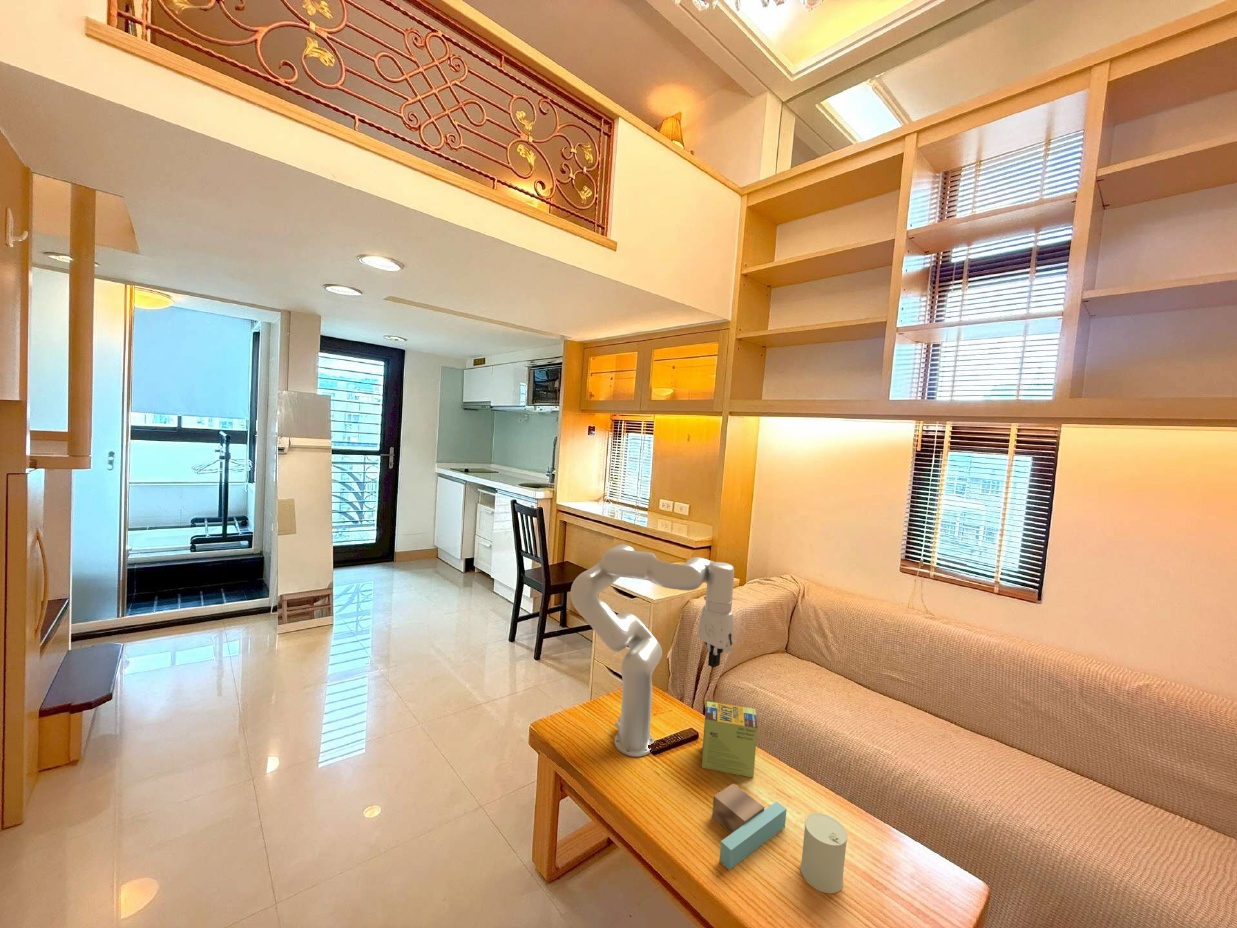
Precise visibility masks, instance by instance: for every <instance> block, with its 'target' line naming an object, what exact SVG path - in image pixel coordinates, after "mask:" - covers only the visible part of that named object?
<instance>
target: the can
mask: <svg viewBox="0 0 1237 928" xmlns="http://www.w3.org/2000/svg"><path fill="white" fill-rule="evenodd" d="M803 831H804V834H803V844H802V855H801V862H800V865H799V866H800V867H799V868H800V872H801V876H802V878H803V879H804V880H805V881H806V882H807V884H809V885H810V886H811V887H812V888H814V889H816V890H817V891H819V892H821V893H824V894H837V893H838V892H840V891H841V890H842V889H843V886H844V871H845V859H846V850H847V841H848V833H847V830H846V829H845V827H844V825H843V824H841V823H840V821H838V820H837V819H835V817H834V818H833V817H832V816H830V815H828V814H823V813H821V812H820V813H817V812H815V813H814V812H813V813H810V814H809V815H807V816H806V817H805V820H804V830H803Z"/></svg>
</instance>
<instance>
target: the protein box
mask: <svg viewBox="0 0 1237 928" xmlns="http://www.w3.org/2000/svg"><path fill="white" fill-rule="evenodd" d="M704 712H705V714H704V725H703V735H702V737H703V739H702V752H701V768H703V769H707V770H712V771H718V772H722V773H728V774H731V775H738V776H743V777H747V778H754V773H755V765H756V763H755V759H756V750H757V749H756V748H757V739H758V738H757V737H758V727H759V726H758V719H757V713H756V708H752V707H745V706H740V705H733V704H726V703H722V702H721V703H720V702H714V701H705V711H704Z"/></svg>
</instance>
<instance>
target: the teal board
mask: <svg viewBox="0 0 1237 928" xmlns="http://www.w3.org/2000/svg"><path fill="white" fill-rule="evenodd" d="M786 818H787V808H786V807H785V806H783V805H782V804H781V803H779V802H778V801H775V802H774V803H772V804H771V805H770V806H768V807H767V808H764V811H762V812H761V813H760V814H758V815H757V816H755V817H754V818H753V819H751V820H750V821H748V822H747V823H746V824H744V825H743V826H742V827H740V828H739V829H737V830H736V831H735V832H733V833H730V834H729V835H728V836H726V837H725V838H723V839H722V840H721V841H720V849H719V862H720V863H721V864H722V865H723V867H725V868H727V870H728V871H731V870H732V869H733V868H735V867H736V866H737V865H739V864H740V863H741V862H743V860H744V859H746V858H747V857H748V856H750V855H751V854H752V853H754V852H755V851H756V850H758V849H759V848H760V847H761V846H762V845H764V844H765V843H767V842H768V841H769V840H770V839H772V838H773V837H774V836H775V835H776V834H778V833H779V832H780V831H781V830H783V829H785V828H786V822H787V821H786Z"/></svg>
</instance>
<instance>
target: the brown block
mask: <svg viewBox="0 0 1237 928" xmlns="http://www.w3.org/2000/svg"><path fill="white" fill-rule="evenodd" d="M764 810H765V806H763V804H761V803H760V802H759V801H757V800H756V799H754V798H753V797H752V796H750V795H749V794H748V793H746V792H745V791H744V790H743V789H741V788H740V787H739V786H738V785H737V784H735V783H731V784H730V785H729V786H727V787H725V788H724V789H723V790H721V791H719V792H718V793H715V794H714V795H713V800H712V812H711V817H712V818H713V819H714V820H715V821H716V822H718V823H719V824H720V825H721V826H722V827H723V828H725V829H726V830H727V831H728V832H729V833H730V834H732V833H733V832H735V831H736V830H737V829H739V828H740V827H742V826H743V825H744V824H746V823H747V822H748V821H750V820H751V819H753V818H754V817H755V816H757V815H758V814H760V813H761V812H762V811H764Z"/></svg>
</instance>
